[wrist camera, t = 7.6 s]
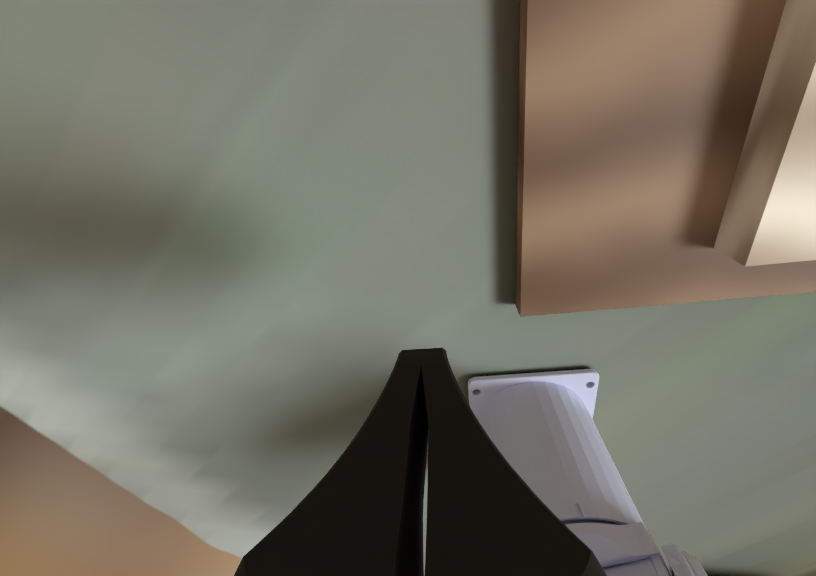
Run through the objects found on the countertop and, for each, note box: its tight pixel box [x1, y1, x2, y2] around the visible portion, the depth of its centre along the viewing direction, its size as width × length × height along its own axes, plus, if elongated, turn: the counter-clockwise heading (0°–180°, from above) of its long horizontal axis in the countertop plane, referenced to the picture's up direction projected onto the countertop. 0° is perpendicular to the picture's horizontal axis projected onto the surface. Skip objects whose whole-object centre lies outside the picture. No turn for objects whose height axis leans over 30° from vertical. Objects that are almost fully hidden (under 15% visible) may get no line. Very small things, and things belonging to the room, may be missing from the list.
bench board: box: [516, 0, 816, 317], centre depth 14 cm, size 16×20×5 cm
